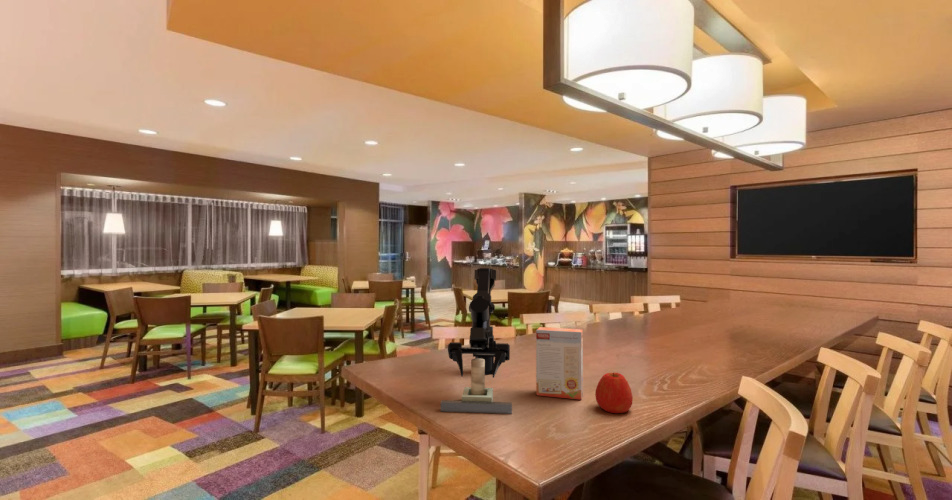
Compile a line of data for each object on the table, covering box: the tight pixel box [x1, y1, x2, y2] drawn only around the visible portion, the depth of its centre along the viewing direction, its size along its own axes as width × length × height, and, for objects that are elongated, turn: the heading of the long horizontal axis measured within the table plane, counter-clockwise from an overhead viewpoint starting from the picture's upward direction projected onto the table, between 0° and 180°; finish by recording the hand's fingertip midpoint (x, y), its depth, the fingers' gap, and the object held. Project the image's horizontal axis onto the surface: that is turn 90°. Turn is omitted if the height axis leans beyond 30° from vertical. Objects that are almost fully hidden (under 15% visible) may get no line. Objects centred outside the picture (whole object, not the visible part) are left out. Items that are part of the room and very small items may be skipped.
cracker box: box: [535, 326, 584, 401], centre depth 137 cm, size 14×6×21 cm, turn 71°
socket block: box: [461, 386, 494, 402], centre depth 129 cm, size 9×9×4 cm
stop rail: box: [440, 399, 513, 415], centre depth 123 cm, size 2×20×2 cm, turn 85°
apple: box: [594, 372, 634, 414], centre depth 125 cm, size 10×10×10 cm
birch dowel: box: [470, 357, 486, 396], centre depth 129 cm, size 4×4×12 cm
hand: (477, 376), depth 127 cm, fingers open, 9 cm apart
